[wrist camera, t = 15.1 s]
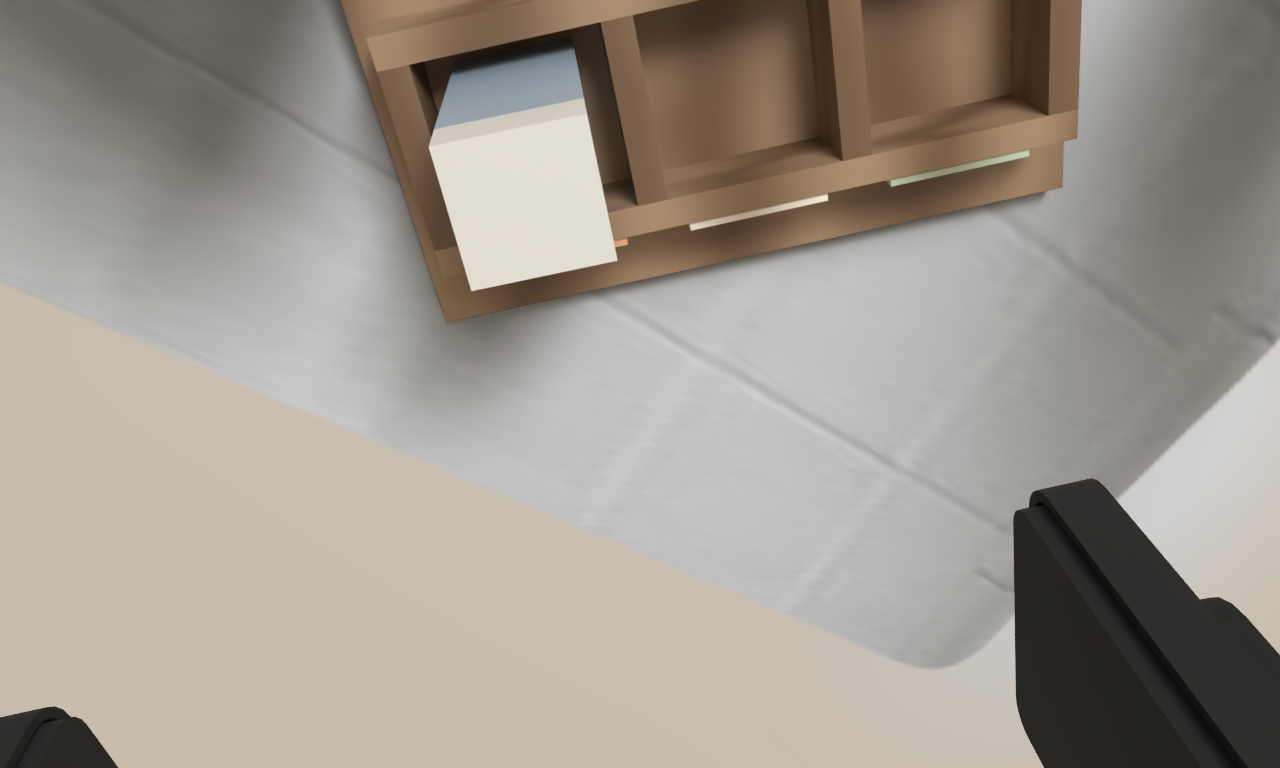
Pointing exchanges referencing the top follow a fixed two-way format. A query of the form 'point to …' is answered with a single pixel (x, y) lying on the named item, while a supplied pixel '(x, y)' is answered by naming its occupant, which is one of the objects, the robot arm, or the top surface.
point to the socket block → (744, 117)
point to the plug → (521, 166)
